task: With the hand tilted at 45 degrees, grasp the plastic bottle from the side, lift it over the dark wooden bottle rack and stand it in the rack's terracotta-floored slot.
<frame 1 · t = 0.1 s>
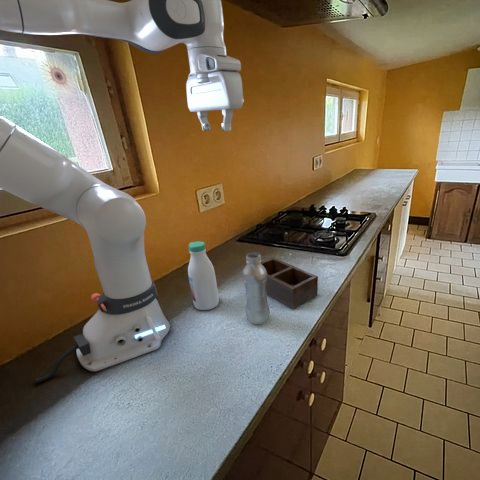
hand: (216, 131, 77), 48 cm above the worktop, tool pointing down, fingers open, 8 cm apart
bottle rack: (282, 290, 99), on the worktop
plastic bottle: (258, 320, 85), on the worktop
milk bottle: (206, 304, 94), on the worktop
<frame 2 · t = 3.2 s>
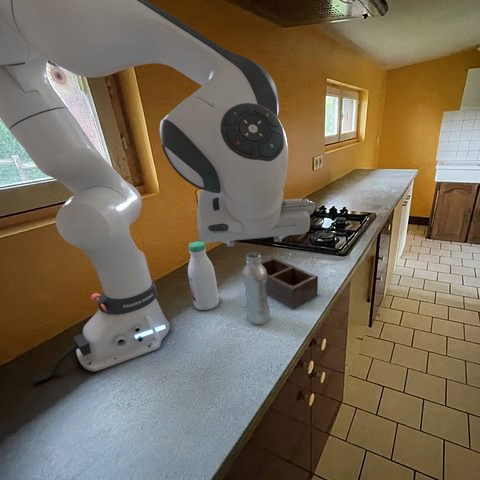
hand: (254, 240, 61), 28 cm above the worktop, tool tilted 45°, fingers open, 8 cm apart
nothing on the worktop moved.
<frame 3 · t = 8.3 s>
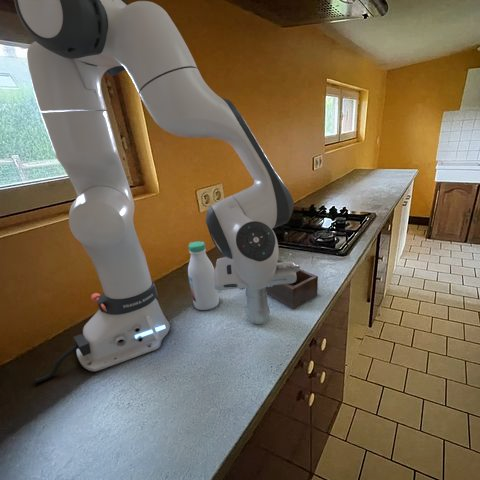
hand: (255, 285, 80), 11 cm above the worktop, tool tilted 45°, fingers closed on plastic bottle, 6 cm apart
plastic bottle: (258, 320, 85), on the worktop, touching gripper
everything else where it was.
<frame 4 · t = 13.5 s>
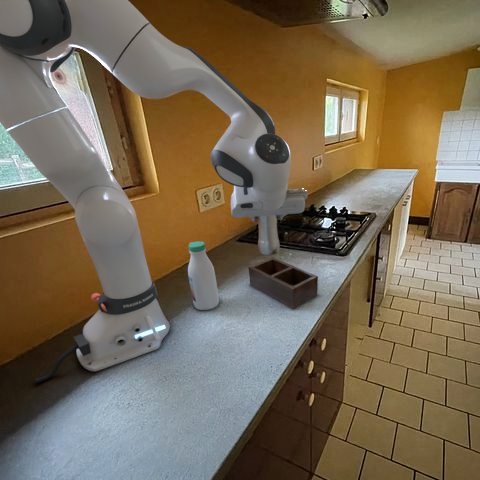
hand: (266, 218, 89), 24 cm above the worktop, tool tilted 45°, fingers closed on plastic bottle, 6 cm apart
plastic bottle: (269, 253, 93), point 13 cm above the worktop, touching gripper
everything else where it was.
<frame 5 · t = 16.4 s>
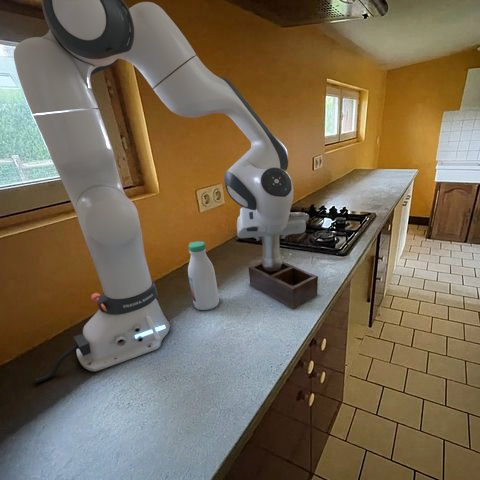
hand: (270, 237, 95), 17 cm above the worktop, tool tilted 45°, fingers closed on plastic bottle, 6 cm apart
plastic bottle: (272, 269, 99), point 6 cm above the worktop, touching gripper
everything else where it was.
when the fingers open (12 cm above the worktop, at t = 18.7 s): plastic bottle stays where it is, resting on bottle rack.
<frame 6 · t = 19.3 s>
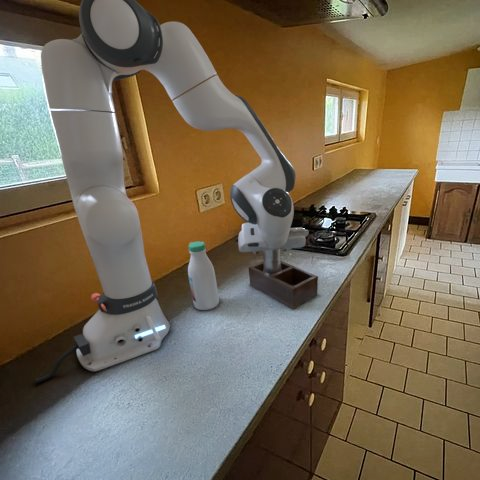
hand: (270, 250, 97), 13 cm above the worktop, tool tilted 45°, fingers open, 8 cm apart
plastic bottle: (273, 282, 102), point 1 cm above the worktop, touching bottle rack
everything else where it was.
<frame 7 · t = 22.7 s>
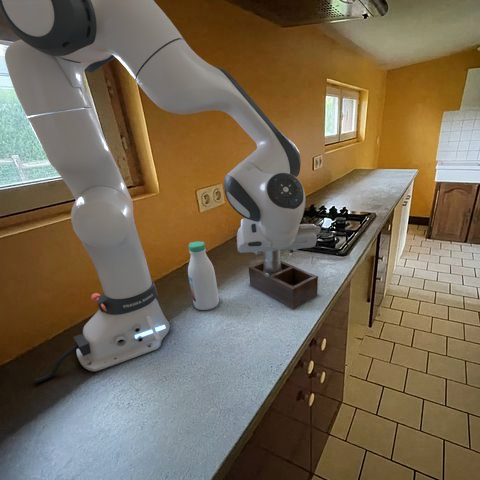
hand: (274, 251, 83), 18 cm above the worktop, tool tilted 45°, fingers open, 8 cm apart
nothing on the worktop moved.
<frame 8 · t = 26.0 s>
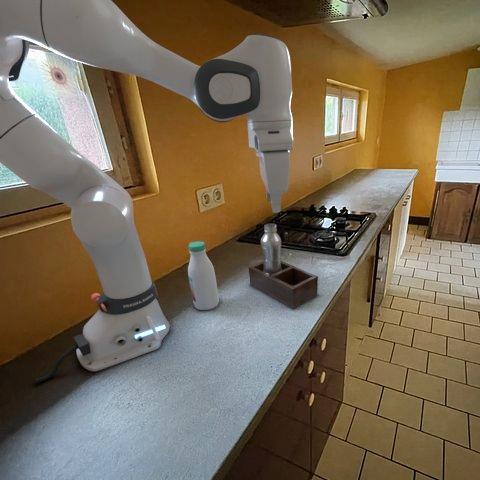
hand: (273, 205, 67), 33 cm above the worktop, tool pointing down, fingers open, 8 cm apart
nothing on the worktop moved.
at the end: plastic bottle 0.2 cm from the target spot in the bottle rack, point 1.0 cm above the bottle rack's base; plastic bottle tilted 0°; the gripper is holding nothing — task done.
